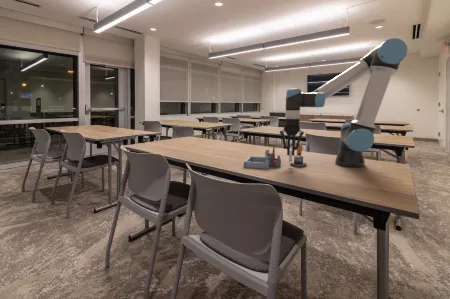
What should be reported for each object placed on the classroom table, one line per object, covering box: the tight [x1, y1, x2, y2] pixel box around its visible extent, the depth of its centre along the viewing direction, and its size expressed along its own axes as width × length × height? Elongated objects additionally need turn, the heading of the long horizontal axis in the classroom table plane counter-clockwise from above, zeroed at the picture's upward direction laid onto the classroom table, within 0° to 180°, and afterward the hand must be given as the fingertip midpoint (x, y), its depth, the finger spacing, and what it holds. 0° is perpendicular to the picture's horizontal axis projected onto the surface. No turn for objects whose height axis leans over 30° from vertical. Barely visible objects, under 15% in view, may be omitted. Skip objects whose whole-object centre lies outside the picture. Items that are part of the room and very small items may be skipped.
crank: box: [293, 142, 304, 164], centre depth 146 cm, size 13×5×10 cm, turn 162°
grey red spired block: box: [263, 145, 282, 168], centre depth 143 cm, size 11×11×12 cm
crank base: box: [289, 161, 307, 168], centre depth 144 cm, size 9×9×1 cm
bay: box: [243, 155, 270, 170], centre depth 145 cm, size 14×16×3 cm
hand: (290, 161), depth 140 cm, fingers closed
